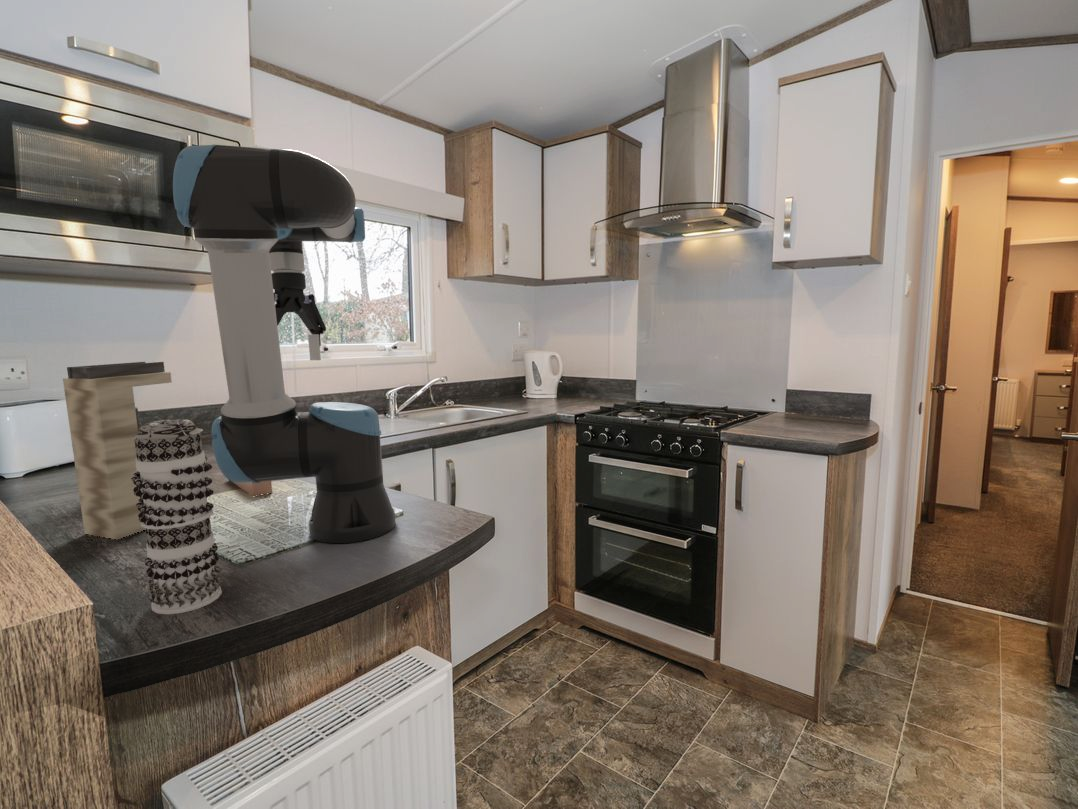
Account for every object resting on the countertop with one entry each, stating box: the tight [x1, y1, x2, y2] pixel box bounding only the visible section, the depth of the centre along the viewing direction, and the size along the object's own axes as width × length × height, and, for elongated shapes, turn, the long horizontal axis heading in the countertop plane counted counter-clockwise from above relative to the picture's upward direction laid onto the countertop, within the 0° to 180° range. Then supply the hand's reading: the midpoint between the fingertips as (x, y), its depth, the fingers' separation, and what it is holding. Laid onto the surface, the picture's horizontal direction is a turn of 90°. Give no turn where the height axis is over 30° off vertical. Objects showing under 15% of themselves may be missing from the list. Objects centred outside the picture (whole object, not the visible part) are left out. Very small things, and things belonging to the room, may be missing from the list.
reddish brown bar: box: [232, 481, 273, 497], centre depth 136 cm, size 4×20×4 cm, turn 42°
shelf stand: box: [62, 361, 173, 541], centre depth 108 cm, size 9×14×31 cm, turn 159°
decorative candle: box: [131, 418, 223, 615], centre depth 78 cm, size 9×9×25 cm
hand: (295, 362), depth 139 cm, fingers open, 13 cm apart
